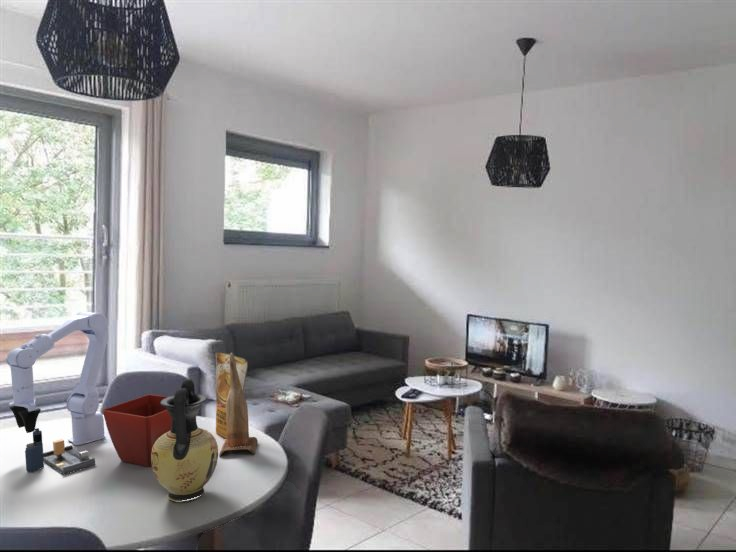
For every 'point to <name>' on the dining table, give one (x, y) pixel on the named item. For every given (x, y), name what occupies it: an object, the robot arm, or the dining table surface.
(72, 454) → the mixer console
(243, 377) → the pancake mix bag
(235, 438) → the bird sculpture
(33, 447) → the vaping device
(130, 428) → the plant pot
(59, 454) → the orange fader
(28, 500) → the dining table surface
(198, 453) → the amphora
